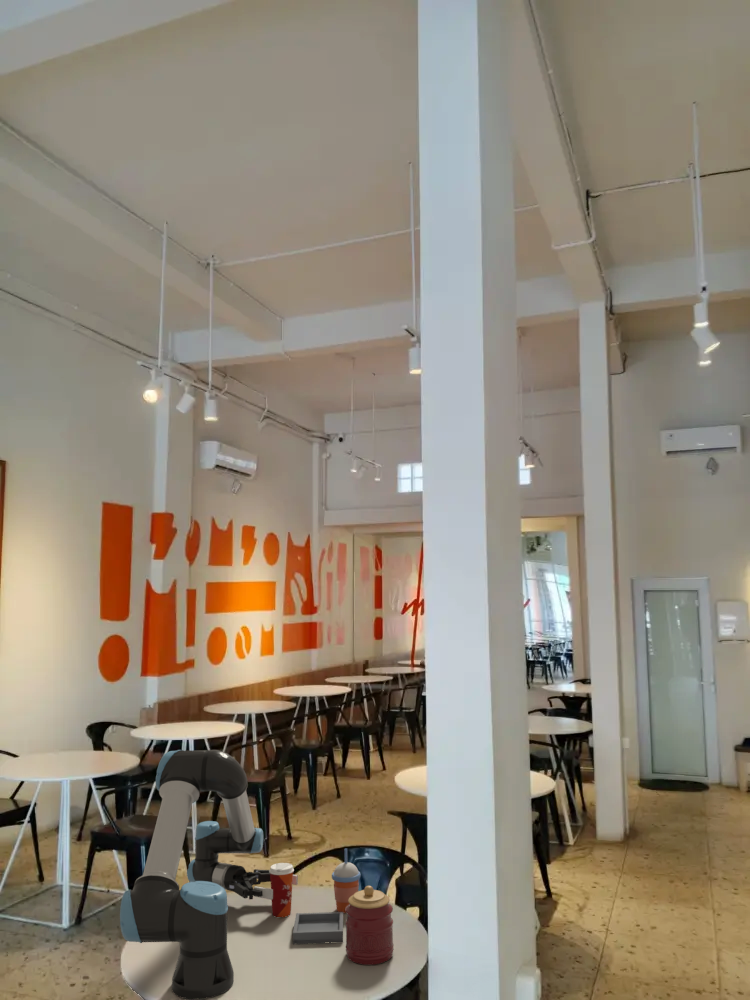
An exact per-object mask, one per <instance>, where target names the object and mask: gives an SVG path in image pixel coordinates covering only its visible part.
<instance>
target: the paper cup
mask: <svg viewBox="0 0 750 1000" xmlns="http://www.w3.org/2000/svg"><path fill="white" fill-rule="evenodd" d="M268 870H269V872H270V879H271V882H270V889H273V899H272V900H271V911H272V917H274V916H275V917H274V918H277V917H283V918H286V917H285V916H287V917H289V916H290V915H291V913H292V901H293V900H292V897H293V884H292V881H293V875H294V871H295V869H294V866H293V864H292V863H289V862H279V863H274V864H272V865H270V868H269V869H268ZM288 915H289V916H288Z"/></svg>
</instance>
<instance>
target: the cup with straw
mask: <svg viewBox="0 0 750 1000" xmlns="http://www.w3.org/2000/svg"><path fill="white" fill-rule="evenodd" d="M361 877H362V876H361V872H360V871H359V870H358V868H357V866H356V865H355V864H354V863H352V862H348V848H346V847H345V848H344V862H340V863H339V864H337V866H336V867H335V868H334V871H333V872H332V873H331V879H332V880H333V891H334V900H335V906H336V912H343V914H347V913H346V911H345V909H346V907H347V906H348V905H349V902H348V900H349V898H350V897H351V896H352V895H354V894H355V893H356V892H358V891H359V889H360V888H359V887H360V885H359V884H360V882H359V880H360V879H361Z"/></svg>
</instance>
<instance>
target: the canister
mask: <svg viewBox="0 0 750 1000" xmlns="http://www.w3.org/2000/svg"><path fill="white" fill-rule="evenodd" d="M348 902H349V905H348V906H347V907H346V909H345V911H346V913H345V914H346V915H347V917H346V919H345V921H344V922H345V933H346V935H345V937H346V938H345V939H346V942H345V943H346V944H345V953H346V957H347V960H349V961H350V962H353V963H356V964H358V965H366V966H367V965H368V966H373V965H374V966H375V965H380V964H383V963H385V961H386V962H387V961H389V960H391V958H392V957H393V955H394V939H393V938H394V935H393V929H394V928H393V924H394V920H393V917H392V912H393V910H394V908H393V906H392V904H391V903H390V896H388V894H385V893H384V892H383V891H382V890H379V889H378V890H377V889H374V887H373V886H371V885H366V886H365V887H364V889H362V890H358V892H356V893H355V894H354V895H352V896H351V897H350V898H349V900H348Z"/></svg>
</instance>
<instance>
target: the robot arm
mask: <svg viewBox="0 0 750 1000" xmlns="http://www.w3.org/2000/svg"><path fill="white" fill-rule="evenodd" d="M248 781H249V780H248V777H247V774H246V772H245V769H244V768H243V766H242V765H241V764H240V763H239V761H237V759H236V758H235V757H233V756H232V755H230V754H229V753H227V752H224V751H222V750H219V749H209V750H207V749H204V750H203V749H202V750H199V749H198V750H197V749H196V750H183V749H177V750H170V751H167V752H166V753H164V755H162V757H161V758H160V761H159V763H158V766H157V769H156V776H155V786H156V789H157V791H158V794H159V796H160V797H161V802H160V808H159V812H158V814H157V819H156V822H155V823H156V824H155V826H154V830H153V834H152V838H151V843H150V846H149V849H148V854H147V857H146V862H145V866H144V869H143V873H142V875H141V876H139V877H138V878H136V880H135V881H134V884H133V888H132V889H128V890H125V891H124V893H123V894H122V897H121V901H120V908H119V909H120V910H119V924H120V931H121V935H122V937H123V939H124V940H125V941H127V942H130V943H131V942H133V943H137V942H138V943H140V944H143V943H176V942H177V943H179V956H178V959H177V962H176V965H175V968H174V970H173V975H172V979H171V991H172V990H173V991H172V993H173V992H174V993H175V994H174V995H175V996H177V995H178V997H179V998H181V999H187V1000H202V999H209V998H213V997H217V996H219V995H221V994H224V993H225V992H228V991H229V989H230V988H231V987H232V986H233V985H234V981H235V980H234V977H235V976H234V975H235V974H234V968H233V965H232V962H231V958H230V955H229V953H228V952H229V951H228V910H229V906H228V894H227V891H230V892H233V893H235V894H237V895H238V896H240V897H242V898H243V899H248V900H253V899H254V898H255V897H256V898H261V899H266V900H271V901H272V899H273V889H271V888H267V887H262V886H256V885H261V883H271V879H270V872H269V870H270V869H258V868H257V869H256V868H255V869H253V872H252V871H246V869H245V867H244V866H243V865H237V864H232V863H226V862H220V861H219V854H257V853H260V852H262V850H263V847H264V846H263V845H264V831H263V829H262V828H261V827H259V828H258V827H255V825H254V820H253V816H252V811H251V807H250V802H249V797H248V794H247V788H248V786H249V784H248ZM201 792H215V793H216V794H217V795H218V796H219V797H220V798H221V800H222V803H223V806H224V807H223V808H224V811H225V814H226V819H227V822H228V826H229V828H220V825H219V822H218V821H213V820H205V821H201V822H199V823H198V824H197V825H196V827H195V837H194V840H195V842H194V843H195V846H194V847H195V850H194V851H195V853H194V855H195V857H194V859H192V860H191V861H190V862H189V864H188V869H187V870H186V877H187V879H188V881H189V882H186V883H184V884H183V885H182V886H181V889H180V885H179V884H178V882H177V881H176V879H177V873H178V871H179V870H178V869H179V865H180V860H181V855H182V851H183V846H184V841H185V838H186V833H187V829H188V824H189V820H190V816H191V815H190V814H191V810H192V806H193V804H195V803H196V802H197V801H199V797H200V793H201ZM298 879H299V876H298V875H296V874H293V881H292V886H297V885H299V880H298Z"/></svg>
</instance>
